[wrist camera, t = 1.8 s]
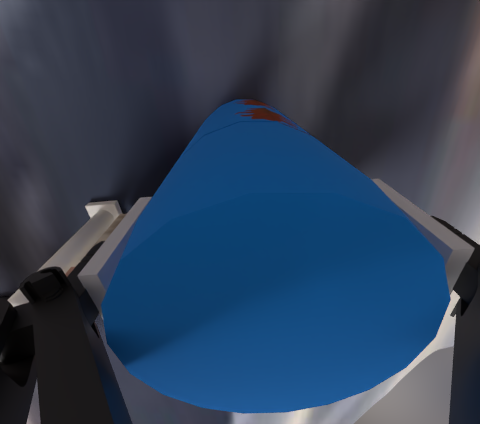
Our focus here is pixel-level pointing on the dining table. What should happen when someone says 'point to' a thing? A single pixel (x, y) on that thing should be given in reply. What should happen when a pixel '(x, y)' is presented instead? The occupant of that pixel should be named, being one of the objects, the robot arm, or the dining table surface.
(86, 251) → the gate posts
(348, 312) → the thermos
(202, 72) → the dining table surface
